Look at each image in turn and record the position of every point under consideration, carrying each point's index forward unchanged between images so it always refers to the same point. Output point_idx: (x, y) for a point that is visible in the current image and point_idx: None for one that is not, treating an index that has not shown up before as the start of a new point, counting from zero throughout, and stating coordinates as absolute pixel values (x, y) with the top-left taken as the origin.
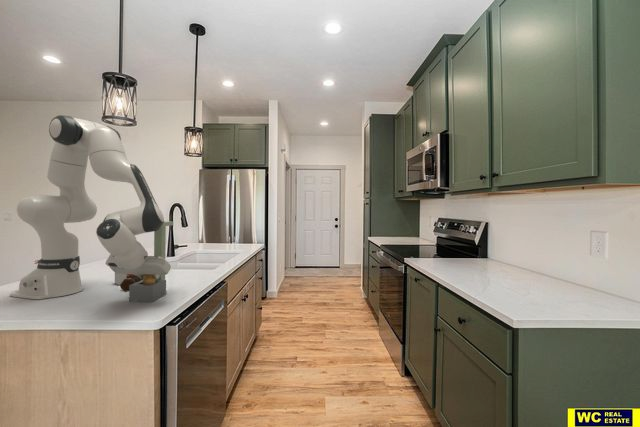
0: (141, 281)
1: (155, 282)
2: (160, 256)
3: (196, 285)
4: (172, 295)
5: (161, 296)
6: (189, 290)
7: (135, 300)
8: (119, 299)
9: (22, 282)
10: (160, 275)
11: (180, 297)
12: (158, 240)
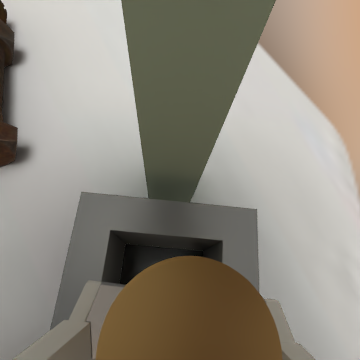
0: (87, 263)
1: (188, 238)
2: (254, 6)
3: (291, 83)
4: (268, 242)
5: None
6: (304, 158)
7: None
8: (3, 327)
9: None
10: (199, 165)
11: (329, 278)
12: None
